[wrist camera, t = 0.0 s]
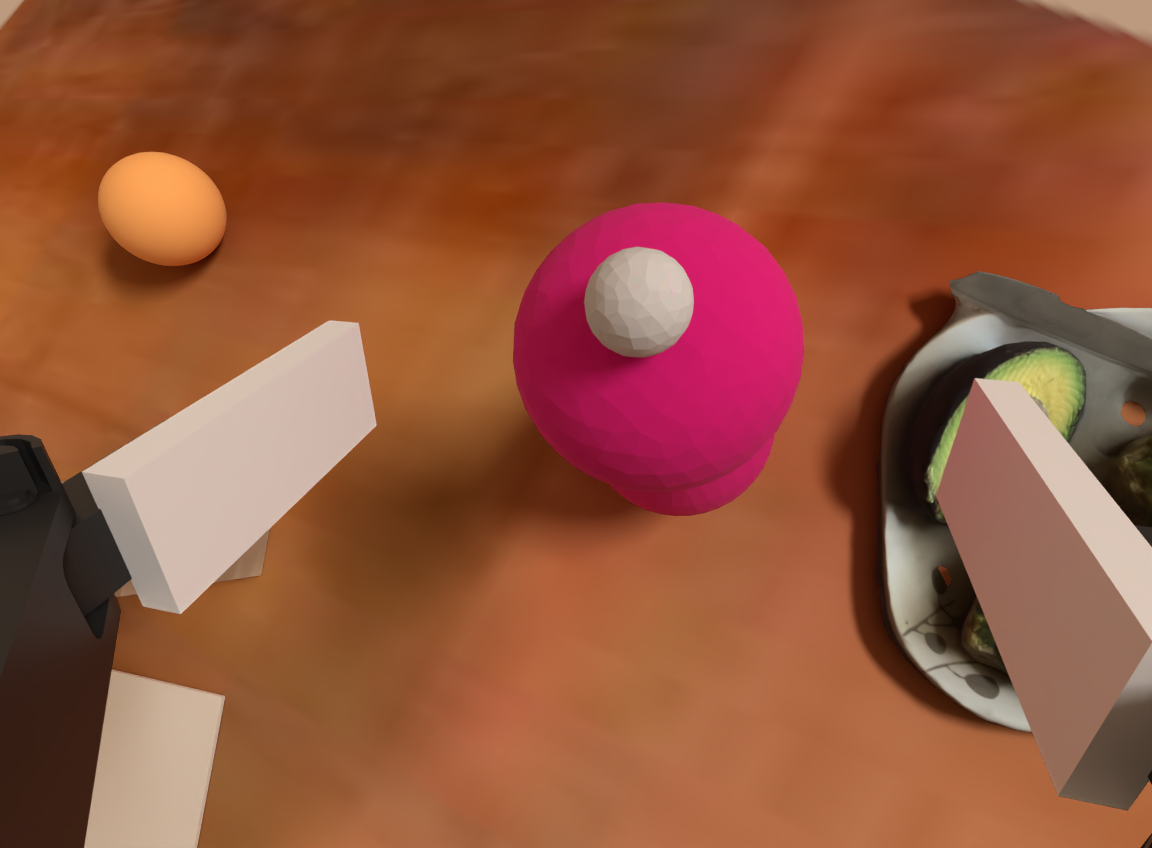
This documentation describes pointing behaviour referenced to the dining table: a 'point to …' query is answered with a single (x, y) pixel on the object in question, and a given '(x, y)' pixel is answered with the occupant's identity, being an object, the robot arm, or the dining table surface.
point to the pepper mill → (660, 354)
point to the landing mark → (153, 764)
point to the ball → (162, 208)
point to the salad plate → (926, 434)
